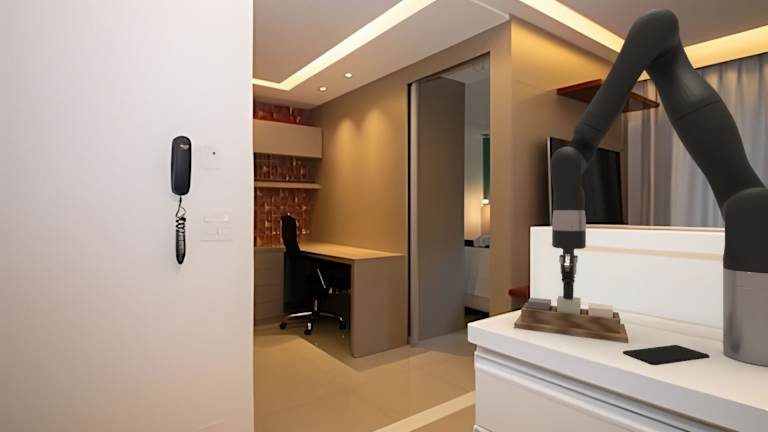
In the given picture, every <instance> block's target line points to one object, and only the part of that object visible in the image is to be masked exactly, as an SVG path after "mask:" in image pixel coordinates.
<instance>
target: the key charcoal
mask: <svg viewBox="0 0 768 432" xmlns="http://www.w3.org/2000/svg"><path fill="white" fill-rule="evenodd" d="M527 303H528V309H534V310H543V311H551V306H552V299H549V298H537V297H529V298H528V300H527Z"/></svg>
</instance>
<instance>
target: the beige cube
mask: <svg viewBox="0 0 768 432" xmlns="http://www.w3.org/2000/svg"><path fill="white" fill-rule="evenodd" d="M587 307H588V308H587V309H588V315H589V316H598V317H607V318H613V312H614V307H613V304H601V303H591V302H588V306H587Z"/></svg>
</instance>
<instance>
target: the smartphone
mask: <svg viewBox="0 0 768 432" xmlns="http://www.w3.org/2000/svg"><path fill="white" fill-rule="evenodd" d="M622 354H623V355H624V356H627V357H630V358H632V359H636V360H638V361H641V362H643V363H646V364H648V365H650V366H661V365H668V364H674V363H680V362H688V361H690V362H691V361H695V360H703V359H709V358H710V355H709V354H708V353H705V352H702V351H699V350H696V349H692V348H689V347H686V346H682V345H678V344H670V345H663V346H653V347H645V348H638V349H637V348H636V349H630V350H623V351H622Z"/></svg>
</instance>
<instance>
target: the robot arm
mask: <svg viewBox="0 0 768 432" xmlns="http://www.w3.org/2000/svg"><path fill="white" fill-rule="evenodd" d="M644 72H645V74H647V76H648V77H649V79H650V80H651V81H652V83H653V84H654V87H655V89H656V91H657V93H658V96H659V99H660V102H661V104H662V108H663V109H664V112H665V114H666V116H667V118H668V121H669V122H670V125H671V127H672V128H673V130H674V132H675V133H676V135H677V138H678V139H679V140H680V142H681V143H682V145H683V147H684V148H685V150H686V152H687V153H688V154H689V156H690V158H691V159H692V160H693V161H694V163H695V164H696V166H697V168H699V170H700V171H701V172H702V174H703V175H704V176H705V179H706V181H707V183H708V185H709V186H710V189H711V191H712V193H713V196H714V199H715V201H716V204H717V206H718V208H719V212H720V214H721V217H722V220H723V222H724V246H723V247H724V249H723V255H722V332H723V333H722V352H723V354H724V355H725V356H728V357H729V358H732V359H734V360H736V361H737V360H738V361H741V362H745V363H749V364H753V365H759V366H766V367H768V187H767V186H766V185H765V184H764V183H763V181H762V180H761V178H760V177H759V175H758V174H757V173H756V172H755V170H754V168H753V167H752V165H751V163H750V160H749V159H748V157H747V156H748V155H747V154H746V149H745V147H744V143H743V140H742V136H741V134H740V130H739V127H738V125H737V123H736V120H735V119H734V116H733V114H732V113H731V111H730V110H729V108H728V106H727V105H726V103H725V101H724V100H723V98H722V97H721V95H720V93H718V92H717V90H716V89H715V88H714V87H713V86H712V84H710V83H709V82H708V81H707V80H706V79H705V78H704V77H703V76H702V75H701V74H700V73H699V72H698V71H697V70H696V69H695V67H694V66H693V64H692V63H691V61H690V58H689V57H688V54H687V52H686V50H685V49H684V46H683V42H682V41H681V36H680V22H679V19H678V17H677V15H676V14H675V13H674V12H673V11H672V10H671V9H668V8H663V7H662V8H659V7H658V8H654V9H650V10H648V11H646V12H644V13H642V14H641V15H640V16H638V17H637V18H636V19H635V21H634V22H633V23H632V24H631V27H630V29H629V31H628V32H627V34H626V37H625V39H624V42H623V44H622V45H621V48H620V51H619V52H618V55H617V56H616V59H615V61H614V63H613V65H612V66H611V69H610V70H609V72H608V74H607V75H606V78H605V79H604V80H603V82H602V84H601V86H600V88H599V89H598V90H597V91H596V94H595V95H594V96H593V98H592V100H591V101H590V102H589V105H588V106H587V107H586V109H585V110H584V112H583V113H582V115H581V117H580V118H579V120H578V122H577V123H576V125H575V127H574V128H573V135H572V138H571V140H570V141H569V143H568V145H567V146H563V147H560V148H559V149H557V150H556V151H554V153H553V154H552V156H551V160H550V176H551V181H552V188H553V204H552V205H553V213H552V222H551V223H552V225H551V226H552V228H551V230H552V231H551V232H552V234H551V235H552V236H551V238H552V239H551V246H552V247H553V248H555V249H561V250H562V254H560V255H559V259H558V260H559V264H560V274H561V282H562V285H563V287H562V289H563V290H562V291H563V293H562V296H563V298H564V299H573V297H574V285H575V282H576V280H575V278H576V275H577V264H578V259H579V258H578V257H579V256H578V255H575V250H582V249H583V250H584V249H585V248H586V245H587V241H586V239H587V238H586V237H587V235H586V234H587V232H586V231H587V218H586V211H585V210H586V206H585V205H586V204H585V203H586V199H585V198H586V197H585V196H586V195H585V190H584V188H583V184H582V181H583V180H582V174H583V173H584V172H585V171H586V169H587V168H588V167H589V165H590V164H591V161H592V160H593V158H594V156H595V155H596V152H597V150H598V148H599V147H600V144H601V143H602V141H603V140H604V138H605V137H606V136H607V134H608V133H609V132H610V130H611V128H612V127H613V126H614V124H615V123H616V121H617V119H618V118H619V116H620V115H621V113H622V111H623V109H624V107H625V105H626V104H627V101H628V99H629V97H630V95H631V94H632V91H633V89H634V88H635V85H636V84H637V82H638V81H639V80H640V79H639V78H640V77H641V76H642V75H643V74H644Z"/></svg>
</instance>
